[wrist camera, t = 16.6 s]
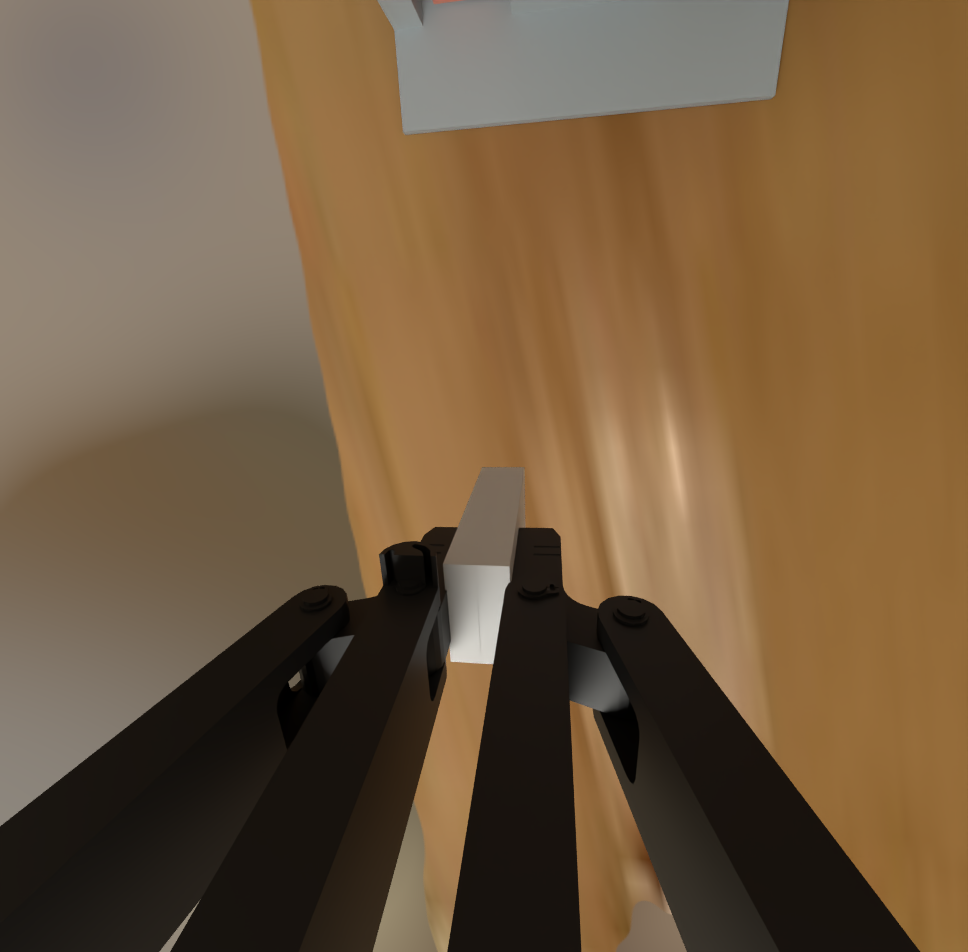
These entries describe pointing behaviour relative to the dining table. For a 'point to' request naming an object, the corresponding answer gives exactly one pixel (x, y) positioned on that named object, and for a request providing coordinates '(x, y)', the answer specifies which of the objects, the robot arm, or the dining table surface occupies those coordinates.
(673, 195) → the dining table surface
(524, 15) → the slot block
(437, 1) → the red plug
